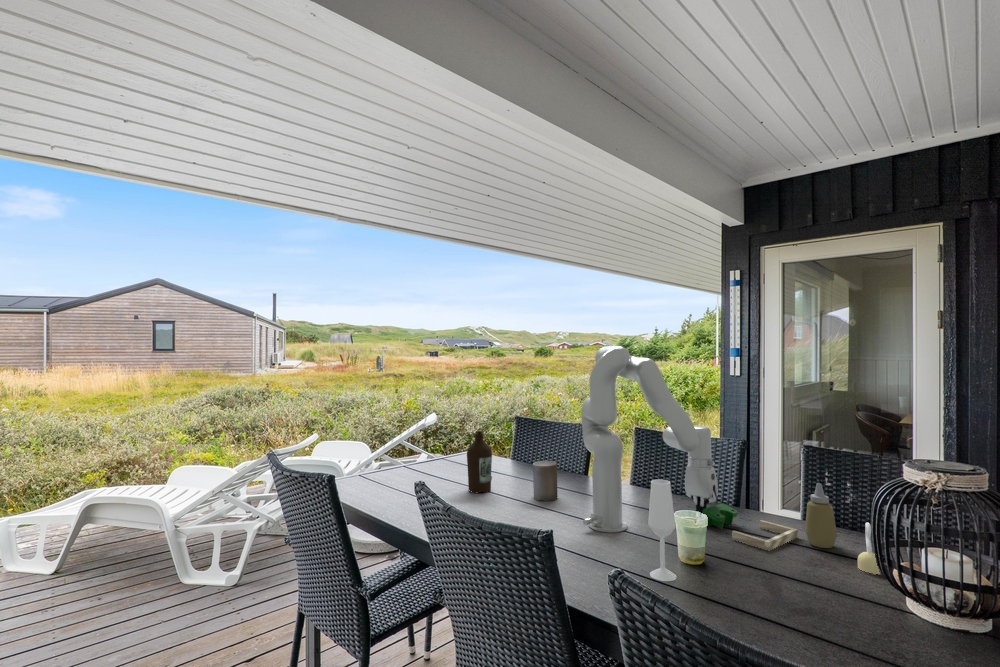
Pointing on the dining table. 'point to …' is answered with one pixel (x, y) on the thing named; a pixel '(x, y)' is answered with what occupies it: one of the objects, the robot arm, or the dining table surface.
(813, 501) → the squeeze bottle
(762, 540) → the keeper bracket
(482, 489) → the olive oil
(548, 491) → the pillar candle
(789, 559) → the dining table surface
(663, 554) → the champagne flute
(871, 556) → the pale yellow handled piece
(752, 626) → the dining table surface
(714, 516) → the clamp
